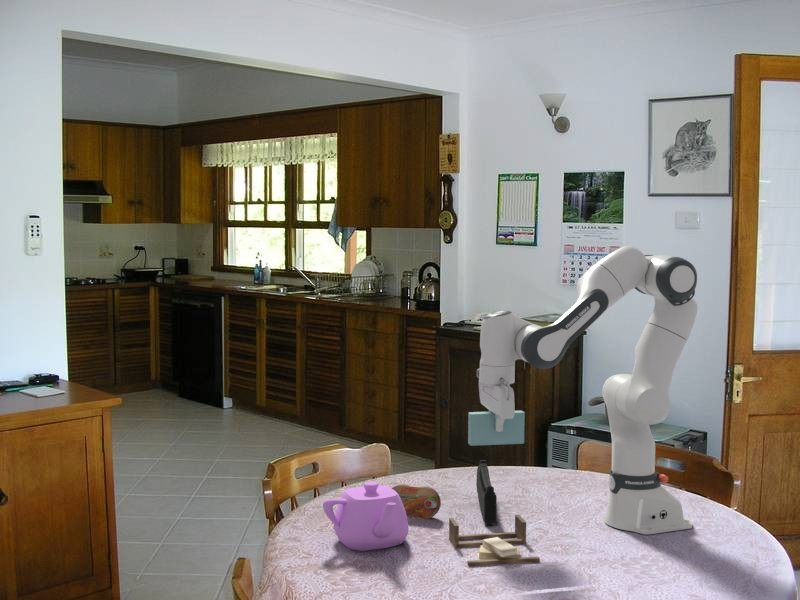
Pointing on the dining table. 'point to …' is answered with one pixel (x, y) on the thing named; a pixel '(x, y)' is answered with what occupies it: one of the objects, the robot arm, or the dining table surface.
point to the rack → (519, 534)
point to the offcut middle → (493, 554)
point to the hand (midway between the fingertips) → (496, 429)
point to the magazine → (486, 494)
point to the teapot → (368, 517)
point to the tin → (419, 500)
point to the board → (485, 433)
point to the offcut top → (499, 547)
